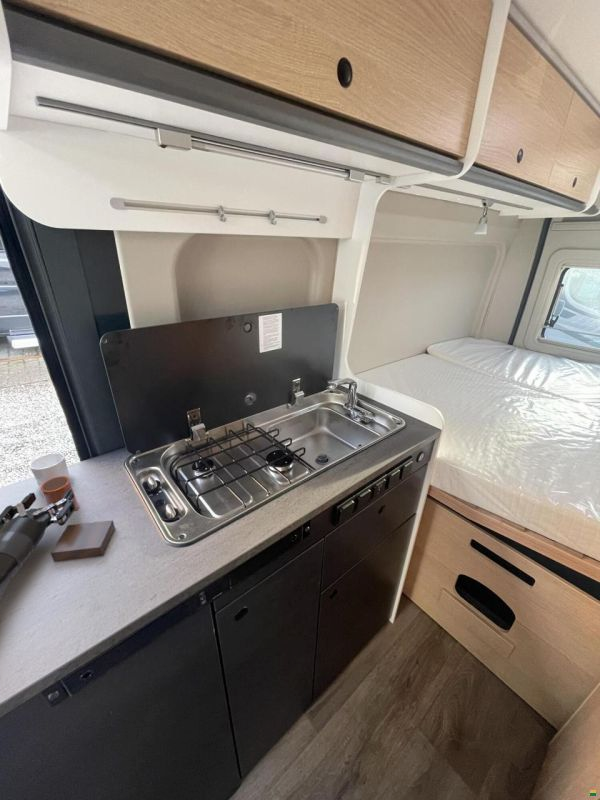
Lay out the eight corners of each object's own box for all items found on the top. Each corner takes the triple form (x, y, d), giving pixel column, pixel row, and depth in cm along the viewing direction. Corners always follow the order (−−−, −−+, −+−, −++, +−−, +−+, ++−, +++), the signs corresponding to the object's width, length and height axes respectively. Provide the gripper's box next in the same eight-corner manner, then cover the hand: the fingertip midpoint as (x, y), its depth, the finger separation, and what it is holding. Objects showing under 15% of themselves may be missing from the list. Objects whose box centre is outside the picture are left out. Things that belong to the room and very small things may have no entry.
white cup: (39, 502, 90) (27, 472, 86) (42, 485, 96) (31, 457, 92) (73, 492, 94) (63, 464, 89) (74, 477, 100) (64, 449, 96)
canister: (46, 520, 84) (34, 492, 80) (58, 503, 90) (48, 476, 86) (72, 517, 85) (62, 490, 81) (82, 501, 91) (73, 474, 87)
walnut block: (55, 565, 72) (50, 553, 70) (72, 537, 79) (67, 525, 78) (104, 559, 74) (100, 547, 72) (116, 532, 81) (112, 520, 79)
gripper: (44, 528, 67) (79, 479, 82) (-35, 537, 65) (15, 484, 80) (55, 554, 70) (86, 502, 85) (-20, 563, 68) (25, 508, 83)
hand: (52, 493), depth 82 cm, fingers open, 8 cm apart
